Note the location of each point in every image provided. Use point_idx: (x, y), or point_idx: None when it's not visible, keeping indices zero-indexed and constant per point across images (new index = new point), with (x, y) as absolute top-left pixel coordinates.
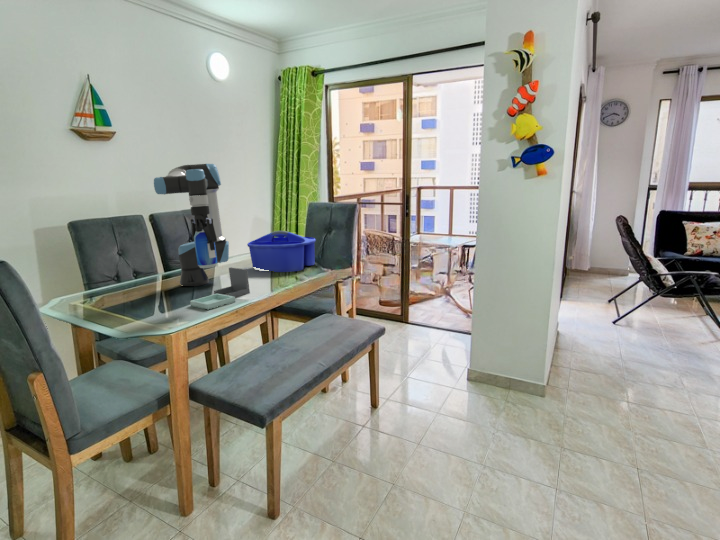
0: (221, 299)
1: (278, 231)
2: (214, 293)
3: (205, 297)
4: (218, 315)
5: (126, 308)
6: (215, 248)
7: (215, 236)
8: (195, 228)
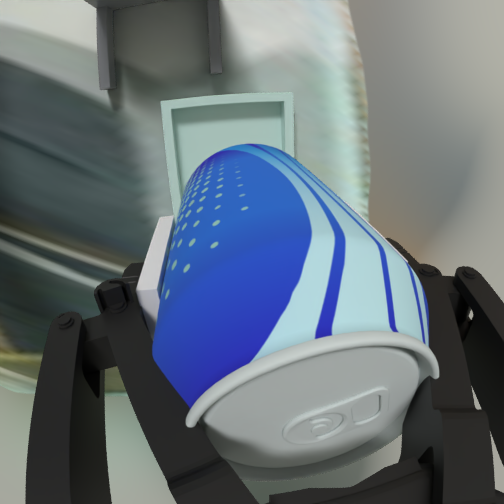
0: (214, 109)
1: None
2: (106, 89)
3: (176, 161)
4: (366, 215)
5: (44, 327)
6: (332, 191)
7: (494, 301)
8: (95, 482)
